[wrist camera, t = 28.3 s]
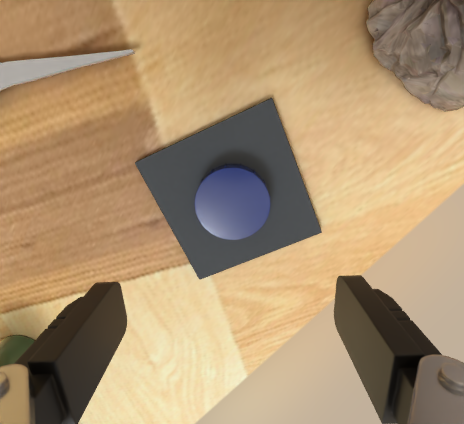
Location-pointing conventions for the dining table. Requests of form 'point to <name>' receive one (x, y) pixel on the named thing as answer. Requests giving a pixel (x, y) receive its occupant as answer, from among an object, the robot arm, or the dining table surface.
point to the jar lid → (232, 202)
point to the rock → (422, 47)
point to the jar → (13, 348)
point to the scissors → (50, 66)
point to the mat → (232, 152)
